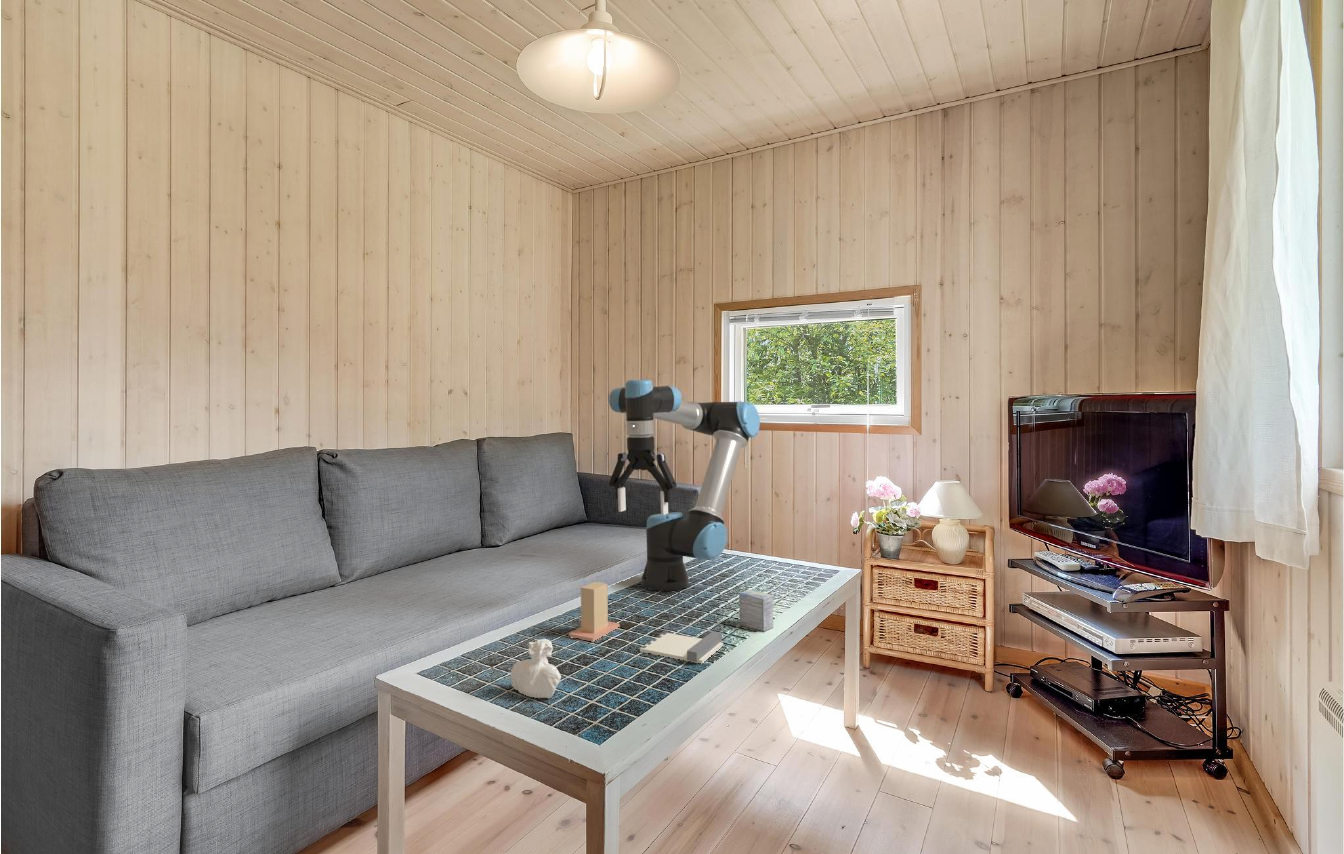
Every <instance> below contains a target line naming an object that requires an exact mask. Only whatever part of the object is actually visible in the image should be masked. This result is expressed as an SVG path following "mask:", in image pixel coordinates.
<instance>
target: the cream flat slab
mask: <svg viewBox="0 0 1344 854" xmlns="http://www.w3.org/2000/svg"><path fill="white" fill-rule="evenodd" d="M722 641H723V633H722V632H720V631H714V630H712V631H711V632H709V633H708V634H707V635H706V636H705V637H703V638H700V637H699V638H698V637H694V636H686V635H682V634H676V633H671V632H665V631H664V632H663V633H661V634H660V635H658V636H657V637H655V638H653V639H652V640H650V641H649V642H647V643H645V645H642V646H641V647H640V648H639V652H640V653H643V652H644V653H643V654H648V653H651V654H650V655H654V656H658V655H660V656H659V657H663V656H664V658H668V657H670V659H673V658H674V660H678V659H680V660H679V661H683V660H684V661H683V662H688V661H691V662H690V663H693V662H694V664H698V663H701V664H700V665H702V663H704V661H706V660H707V659H708V658H709V657H711V655H713V654H714V653H715V652H716V651H718V650H719V649H720V648H721V647H722V646H723V647H724V642H722ZM720 650H721V649H720ZM720 650H719V651H720ZM719 651H718V652H719ZM714 655H715V654H714ZM714 655H713V656H714ZM711 658H712V657H711ZM707 661H708V660H707ZM707 661H706V662H707ZM704 664H705V663H704Z"/></svg>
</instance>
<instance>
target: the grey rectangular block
mask: <svg viewBox="0 0 1344 854" xmlns="http://www.w3.org/2000/svg"><path fill="white" fill-rule="evenodd" d="M738 595H739V596H738V597H739V601H738V602H739V603H738V604H739V607H738V611H739V614H738V615H739V616H738V617H739V625H740V626H741V627H746V628H749V629H753V630H756V629H757V630H758V631H761V632H767V631H768V630H770V629H773V628H774V599H773V598H774V596H773V595H772V594H769V593H766V592H762V591H761V592H760V591H757V590H751V589H747V590H745V591H741V592H740V593H739V594H738ZM757 630H756V631H757ZM766 630H767V631H766Z"/></svg>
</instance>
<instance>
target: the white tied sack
mask: <svg viewBox="0 0 1344 854" xmlns="http://www.w3.org/2000/svg"><path fill="white" fill-rule="evenodd" d="M527 644H529V645H528V646H527V647H528V650H527V654H528V655H529V656H530V658H531V659H528V658H527V659H523V660H519V661H517V662H516V663H514V664H513V665H512V669H510V670H511V671H510V674H511V675H510V678H509V679H510V684H511V687H512V688H513V689H514V690H515V691H517V690H518V693H519V694H520V693H523V694H524V695H523V696H525V695H526V697H530V698H533V697H538V699H549V698H552V697H553V696H554V693H555V692H556V688H557V687H558V685H559V684H560V682H561V679H562V675H561V674H560V671H559V670H558V668H557V667H556V666H555V665H554V664H552V663H551V664H550V663H549V661H548V656H549V657H552V653H553V650H554V648H553V645H552V641H551V640H550V639H546V638H542V639H537V641H535V642H533V641H528V643H527Z"/></svg>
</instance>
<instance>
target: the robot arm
mask: <svg viewBox="0 0 1344 854" xmlns="http://www.w3.org/2000/svg"><path fill="white" fill-rule="evenodd" d="M608 398H609V399H608V404H609V407H610V409H611V410H612V411H613V412H615V413H620V414H624V413H625V416H626V417H625V418H626V420H625V421H626V422H625V424H626V435H627V436H628V437H627V438H626V449H627V453H626V452H621V453H620V452H619V453H618V454H617V462H616V464H615V466H614V470H613V472H612V474H611V477H610V479H609V483H608V484H609V486H612V487H614V488H615V489H614V490H615V499H616V500H617V502H618V506H617V508H618V512H625V511H627V504H626V499H627V497H626V487H624V485H625V484H626V481H628V480H629V478H630V476H631V475H632V473H633V472H634V471H639V470H641V471H647V472H649V473H650V475H651V476H652V477H653V479H654V480H655V481H656V483H658V485H659V486H660V488H661V489H662V490H660V513H657V514H651V515H650V516H648V518H647V520H646V528H645V530H646V532H645V533H646V563H645V567H644V569H643V573H642V576H641V586H642V585H643V586H642V587H643V588H644V587H646V588H650V589H652V591H656V590H673V591H678V590H682V589H685V588H687V587H688V586H689V575H688V572H687V570H686V569H687V568H686V566H685V563H684V557H686V558H693V559H697V560H700V561H701V560H703V561H704V560H706V561H713V560H714V559H716V558H718V557H720V556H721V554H723V552H724V550H725V548H726V546H727V542H728V530H727V528H726V525H725V520H724V518H723V515H722V514H723V511H724V507H725V504H726V502H727V501H726V500H727V497H728V493H729V490H730V487H731V483H732V481H733V477H734V473H735V470H736V466H737V463H738V461H739V456H740V453H741V449H744V448H746V446H747V445H748V442H749V439H750V438H752V439H753V438H754V437H756V436H758V433H759V431H760V427H761V426H760V425H761V423H760V422H761V421H760V416H759V411H758V409H757V407H756V406H755V405H754V404H753V403H752V402H749V401H741V400H738V401H711V402H709V401H708V402H697V401H691V400H690V401H688V402H685V401H683V399H682V398H683V397H682V393H681V391H680V390H679V389H678V388H677V387H676V386H671V385H661V386H660V385H659V386H653V381H652V380H651V379H631V380H630V379H629V380H627V381H626V382H625V387H624V386H622V387H617V388H614V389H612V391H611V392H610V394H609V397H608ZM654 419H655V420H659V421H663V422H668V423H671V424H675V425H676V424H677V425H681V427H682V428H684V429H685V430H688V431H693V432H696V433H699V434H703V435H707V436H712V437H713V438H714V440H715V442H714V445H713V449H712V452H711V456H710V459H709V461H708V465H707V468H706V472H705V475H704V478H703V481H702V484H701V488H700V490H699V494H698V497H697V499H696V500H697V501H696V504H695V506H694V507H692V508H690V509H689V510H688V511H687V512H688V513H687V516H686V518H684V515H683V514H684V513H683V512H680V511H675V512H674V511H673V512H669V503H670V502H671V490H672V489H676V488H677V482H676V481H675V478H674V476H673V473H672V472H671V470H670V467H669V466H668V463H667V460H666V454H665V453H658V454H655V437H654V436H653V435H654V434H655V426H654V425H655V423H654V421H655V420H654ZM627 461H628V464H627V465H626V462H627ZM655 461H656V463H657V465H658V467H659V469H658V467H657V465H656V463H655ZM625 465H626V467H625ZM624 467H625V469H624ZM623 469H624V471H623ZM646 588H645V589H646ZM650 589H649V590H650Z"/></svg>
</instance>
